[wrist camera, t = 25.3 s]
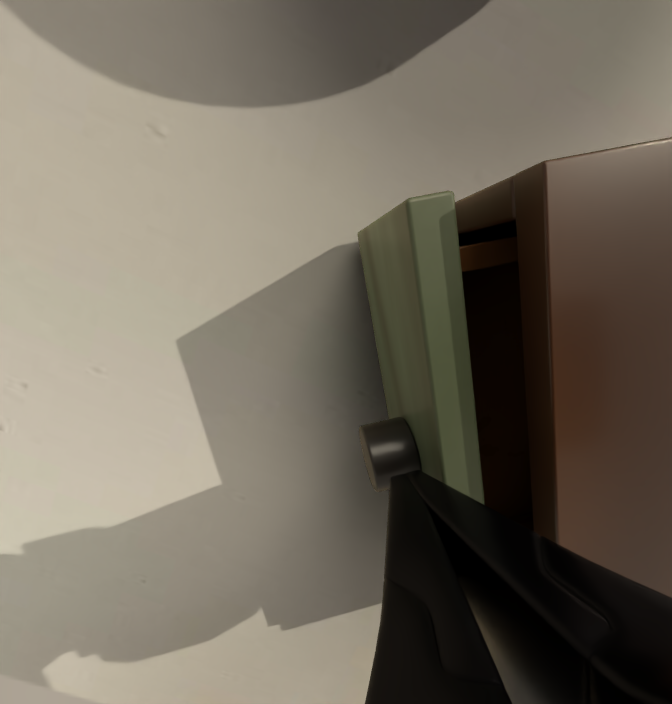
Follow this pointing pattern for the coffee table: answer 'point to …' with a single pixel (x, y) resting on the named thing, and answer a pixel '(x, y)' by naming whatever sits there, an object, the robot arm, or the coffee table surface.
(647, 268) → the cabinet
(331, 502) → the coffee table surface
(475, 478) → the drawer
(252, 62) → the coffee table surface
